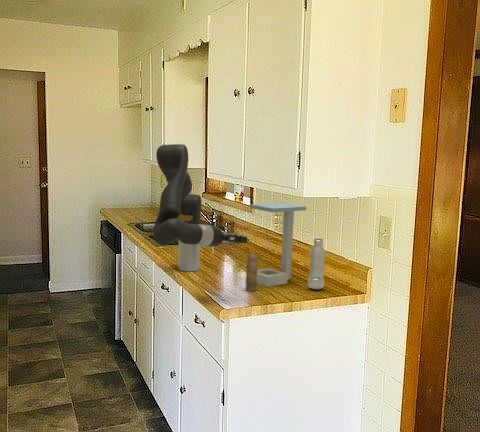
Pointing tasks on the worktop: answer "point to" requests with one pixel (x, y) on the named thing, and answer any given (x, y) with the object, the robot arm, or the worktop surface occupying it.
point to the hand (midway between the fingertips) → (238, 238)
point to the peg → (251, 272)
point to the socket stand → (280, 277)
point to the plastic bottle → (316, 265)
